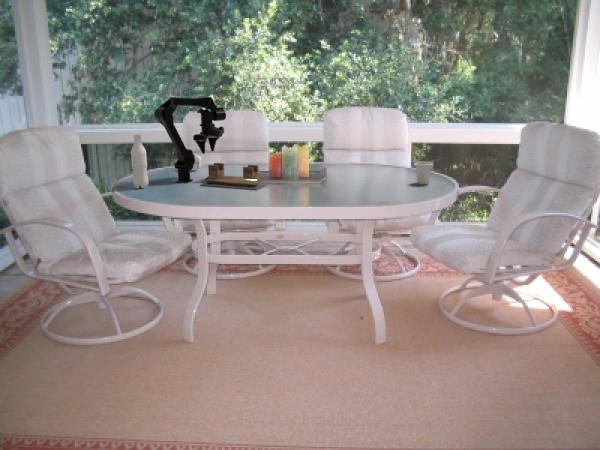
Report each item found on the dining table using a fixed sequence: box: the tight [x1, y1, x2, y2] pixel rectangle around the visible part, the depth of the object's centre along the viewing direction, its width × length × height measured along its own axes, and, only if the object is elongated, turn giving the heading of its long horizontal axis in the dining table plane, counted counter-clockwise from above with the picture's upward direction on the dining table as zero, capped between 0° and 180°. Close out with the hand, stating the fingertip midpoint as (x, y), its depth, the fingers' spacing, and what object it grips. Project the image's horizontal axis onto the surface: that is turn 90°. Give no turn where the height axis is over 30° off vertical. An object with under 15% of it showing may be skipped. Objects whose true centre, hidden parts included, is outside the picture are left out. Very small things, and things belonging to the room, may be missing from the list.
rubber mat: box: [200, 181, 267, 191], centre depth 290 cm, size 11×30×1 cm, turn 71°
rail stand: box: [205, 162, 263, 183], centre depth 300 cm, size 9×27×8 cm, turn 71°
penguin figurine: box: [192, 154, 202, 172], centre depth 329 cm, size 6×8×12 cm
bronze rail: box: [205, 175, 260, 187], centre depth 288 cm, size 4×26×4 cm
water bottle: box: [130, 134, 149, 190], centre depth 283 cm, size 7×7×25 cm
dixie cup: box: [415, 161, 433, 185], centre depth 293 cm, size 8×8×10 cm
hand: (208, 152), depth 307 cm, fingers open, 9 cm apart
